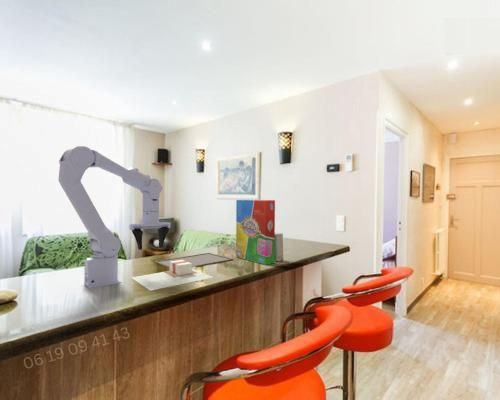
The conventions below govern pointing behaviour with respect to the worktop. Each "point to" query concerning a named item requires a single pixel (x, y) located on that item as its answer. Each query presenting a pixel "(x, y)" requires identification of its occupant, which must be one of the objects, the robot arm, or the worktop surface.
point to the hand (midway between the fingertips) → (150, 248)
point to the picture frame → (197, 260)
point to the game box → (255, 230)
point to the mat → (168, 279)
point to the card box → (180, 267)
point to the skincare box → (278, 246)
